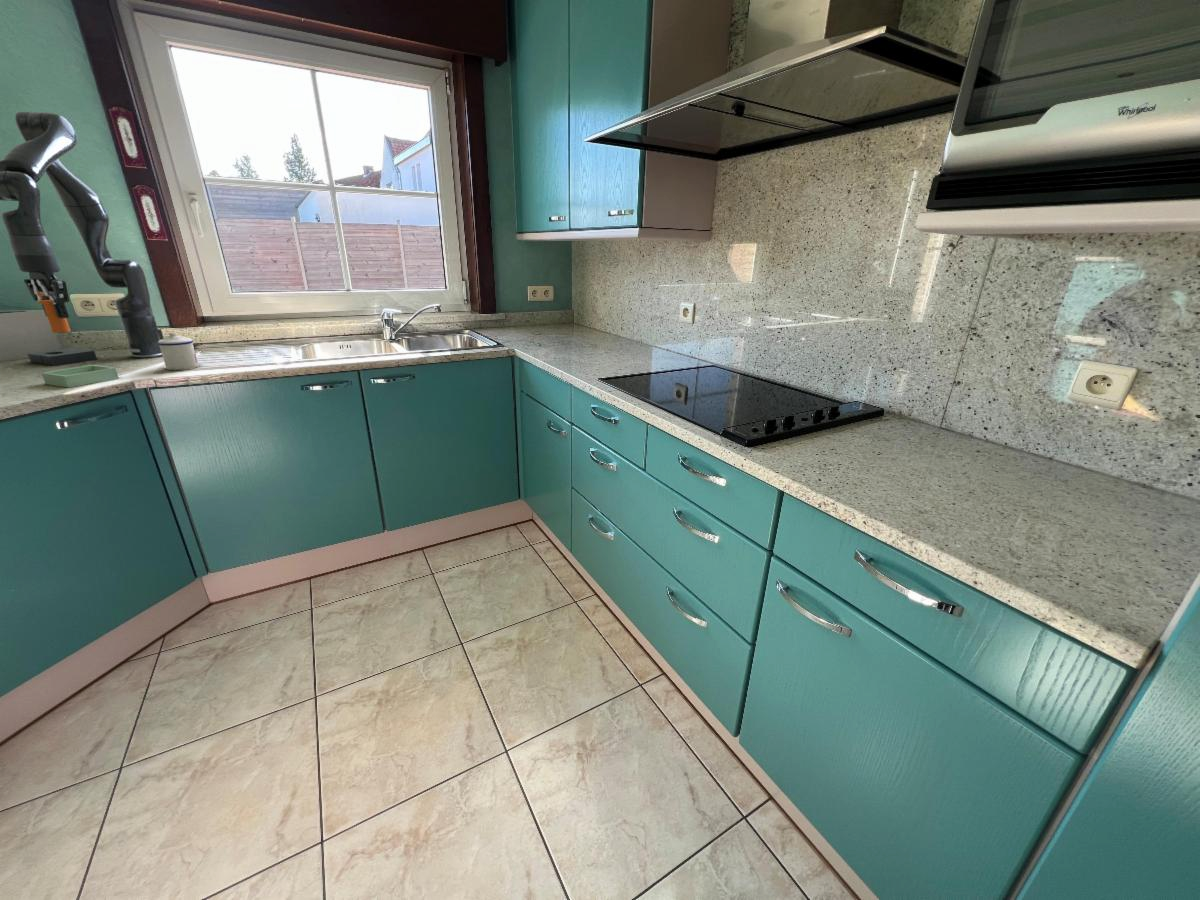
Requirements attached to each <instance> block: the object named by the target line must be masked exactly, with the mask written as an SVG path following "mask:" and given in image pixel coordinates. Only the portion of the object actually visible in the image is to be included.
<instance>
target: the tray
mask: <svg viewBox="0 0 1200 900" xmlns="http://www.w3.org/2000/svg"><path fill="white" fill-rule="evenodd" d="M41 374H42V378H43V380H44V383H45V385H49V386H50V385H51V386H57V387H62V388H74V387H79V386H84V385H91V384H95V383H102V382H107V381H113V380H118V379H119V375H118V372H117V370H116V368H115V367H111V366H106V365H97V364H90V365H83V366H77V367H69V368H63V369H58V370H52V371H51V370H50V371H45V372H41Z"/></svg>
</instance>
